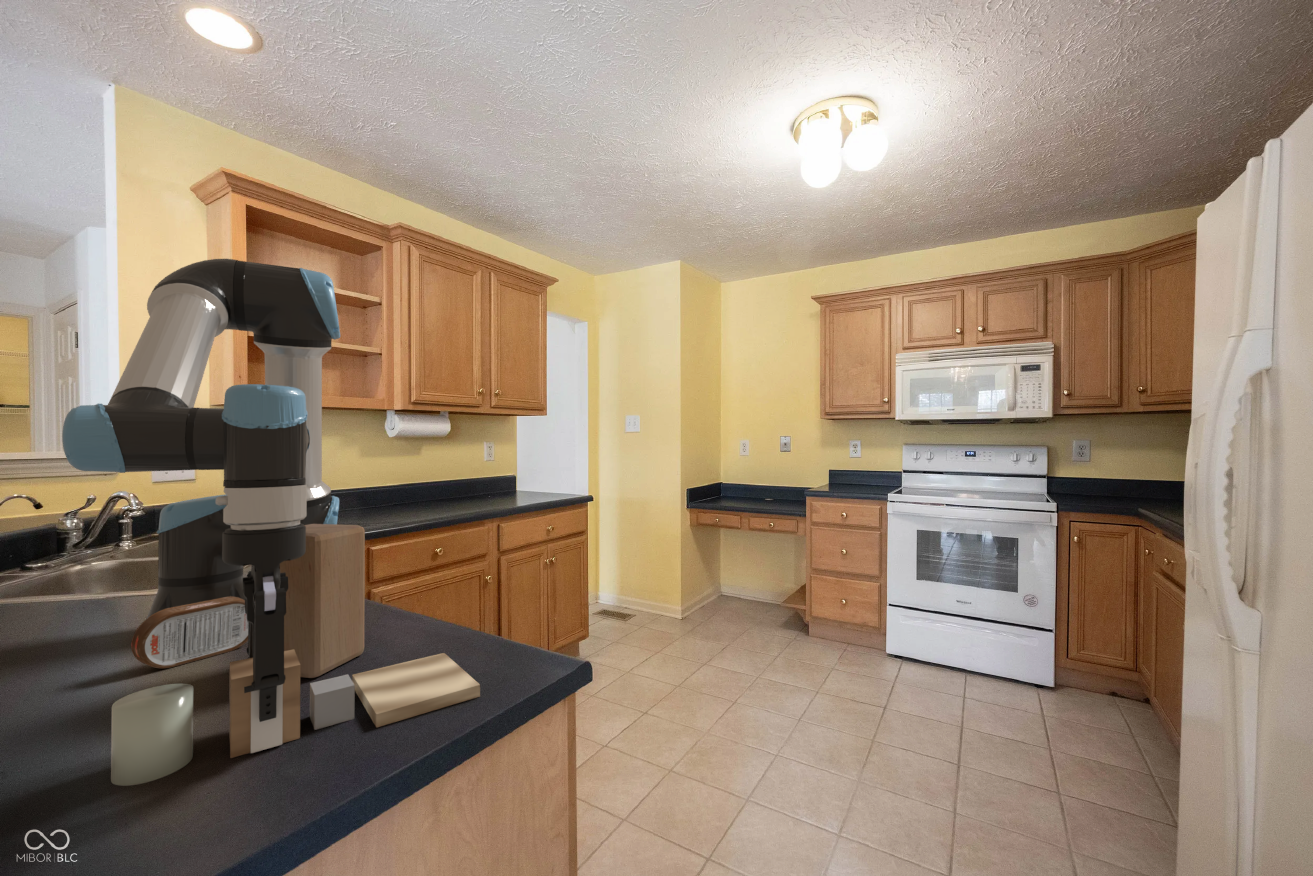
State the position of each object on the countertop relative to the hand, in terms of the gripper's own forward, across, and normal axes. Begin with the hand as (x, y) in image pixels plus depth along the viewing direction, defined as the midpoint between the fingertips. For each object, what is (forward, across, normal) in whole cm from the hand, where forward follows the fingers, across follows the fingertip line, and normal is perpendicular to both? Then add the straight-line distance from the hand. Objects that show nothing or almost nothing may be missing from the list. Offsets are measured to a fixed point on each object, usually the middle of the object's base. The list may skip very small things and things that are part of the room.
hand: (264, 734), depth 60 cm
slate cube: (0, 0, +6) cm, 7 cm away
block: (0, -20, +7) cm, 21 cm away
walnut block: (0, 0, 0) cm, 0 cm away
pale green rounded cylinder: (0, 0, -9) cm, 9 cm away
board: (0, -1, +16) cm, 16 cm away
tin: (0, -34, -6) cm, 35 cm away
